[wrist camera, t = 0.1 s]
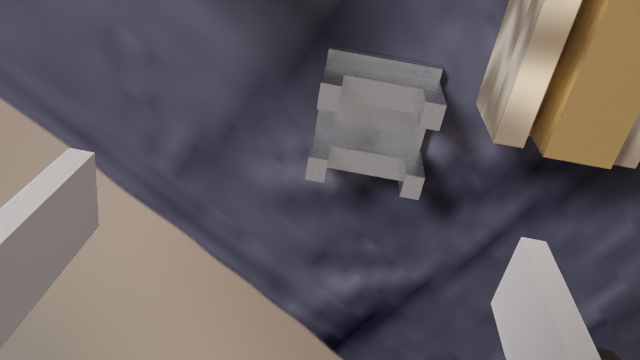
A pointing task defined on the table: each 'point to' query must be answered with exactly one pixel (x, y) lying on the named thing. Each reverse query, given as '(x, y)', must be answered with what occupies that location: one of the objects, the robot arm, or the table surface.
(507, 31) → the beige channeled block
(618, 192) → the table surface
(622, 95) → the wooden block
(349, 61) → the stand
